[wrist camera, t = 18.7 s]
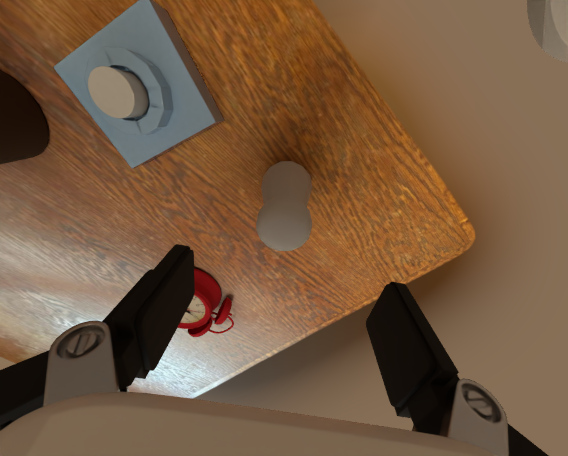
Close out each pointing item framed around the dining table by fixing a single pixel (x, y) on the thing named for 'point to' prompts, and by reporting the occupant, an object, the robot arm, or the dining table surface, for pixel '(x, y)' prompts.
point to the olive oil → (19, 123)
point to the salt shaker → (285, 207)
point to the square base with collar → (145, 83)
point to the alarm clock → (205, 306)
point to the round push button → (117, 92)
